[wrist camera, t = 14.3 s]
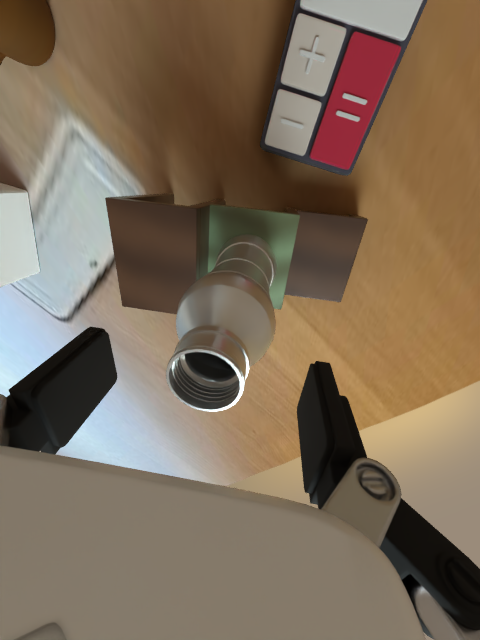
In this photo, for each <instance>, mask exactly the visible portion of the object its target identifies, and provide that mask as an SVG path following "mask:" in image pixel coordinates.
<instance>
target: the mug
mask: <svg viewBox="0 0 480 640" xmlns="http://www.w3.org/2000/svg"><path fill="white" fill-rule="evenodd" d="M54 45H55V28H54V22H53V18H52V15H51V12H50V9H49V7H48V4H47V2H46V0H0V65H1V63H2V61H3V59H4V58H5V57H6V56H7V57H9V58H11V59H13V60H16V61H18V62H20V63H23V64H26V65H30V66H39V65H41V64H43V63H45V62H46V61H47V60H48V59H49V58H50V56H51V55H52V52H53V49H54Z"/></svg>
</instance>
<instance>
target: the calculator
mask: <svg viewBox="0 0 480 640" xmlns="http://www.w3.org/2000/svg"><path fill="white" fill-rule="evenodd" d="M426 2H427V0H296V1H295V5H294V9H293V13H292V17H291V21H290V25H289V29H288V33H287V37H286V41H285V45H284V49H283V53H282V57H281V61H280V65H279V69H278V73H277V77H276V81H275V85H274V89H273V93H272V97H271V101H270V105H269V109H268V113H267V117H266V121H265V125H264V129H263V133H262V137H261V142H260V147H261V148H262V150H264V151H267V152H270V153H273V154H276V155H279V156H283V157H286V158H289V159H292V160H295V161H298V162H302V163H305V164H308V165H311V166H314V167H317V168H320V169H324V170H327V171H330V172H333V173H336V174H340V175H349V174H351V172H352V170H353V168H354V165H355V163H356V161H357V159H358V156H359V154H360V152H361V150H362V147H363V145H364V143H365V140H366V138H367V136H368V134H369V131H370V129H371V127H372V125H373V122H374V120H375V118H376V116H377V113H378V111H379V109H380V107H381V104H382V102H383V100H384V97H385V95H386V93H387V91H388V88H389V86H390V84H391V82H392V79H393V77H394V75H395V73H396V70H397V68H398V66H399V64H400V61H401V59H402V57H403V54H404V52H405V50H406V48H407V45H408V43H409V41H410V39H411V36H412V34H413V32H414V30H415V27H416V25H417V23H418V20H419V18H420V16H421V14H422V11H423V9H424V7H425V5H426Z"/></svg>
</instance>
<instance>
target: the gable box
mask: <svg viewBox="0 0 480 640" xmlns="http://www.w3.org/2000/svg"><path fill="white" fill-rule="evenodd" d="M38 273H40V267H39V261H38V255H37V248H36V242H35V236H34V230H33V223H32V217H31V211H30V205H29V198H28V192H27V191H26V190H23V189H19V188H16V187H13V186H10V185H6V184H3V183H0V287H2V286H5V285H8V284H11V283H13V282H16V281H19V280H21V279H24V278H27V277H29V276H32V275H35V274H38Z"/></svg>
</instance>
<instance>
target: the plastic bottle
mask: <svg viewBox="0 0 480 640" xmlns="http://www.w3.org/2000/svg"><path fill="white" fill-rule="evenodd" d="M276 271H277V263H276V257H275V255H274V252H273V250H272V249H271V247H270V246H269V245H268V244H267V243H266V241H264V240H263V239H262V238H260V237H258V236H255V235H250V234H244V235H239V236H235V237H233V238H231V239H230V240H228V241H227V242H226V243H225V244H224V245H223V246H222V248H221V249H220V251H219V253H218V257H217V260H216V264H215V268H214V269H213V270H212V271H211V272H209V273H208V274H206V275H205V276H203V277H201V278H200V279H199V280H197V281H196V282H195V283H194V284H193V285H192V286H190V287H189V289H188V290H187V291H186V292H185V293H184V295H183V297H182V298H181V300H180V303H179V307H178V310H177V317H176V329H177V335H178V338H179V340H180V341H179V343H178V344H177V346H176V349H175V352H174V354H173V356H172V358H171V359H170V361H169V363H168V366H167V370H166V379H167V384H168V386H169V388H170V390H171V391H172V393H173V394H174V395H175V396H176V397H177V398H178V399H179V400H180V401H182V402H183V403H184V404H186V405H188V406H190V407H192V408H195V409H198V410H202V411H210V412H212V411H221V410H225V409H227V408H229V407H231V406H232V405H234V404H235V403H236V402H237V401H238V400H239V398H240V396H241V395H242V392H243V389H244V384H245V379H246V377H247V375H248V371H249V367H250V366H252V365H254V364H255V363H257V362H258V361H259V360H260V359H261V358H262V357H263V356H264V355H265V353H266V351H267V350H268V348H269V346H270V344H271V342H272V341H273V338H274V334H275V327H276V321H275V313H274V307H273V304H272V301H271V297H270V291H269V289H270V286H271V285H272V283H273V280H274V278H275V275H276Z"/></svg>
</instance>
